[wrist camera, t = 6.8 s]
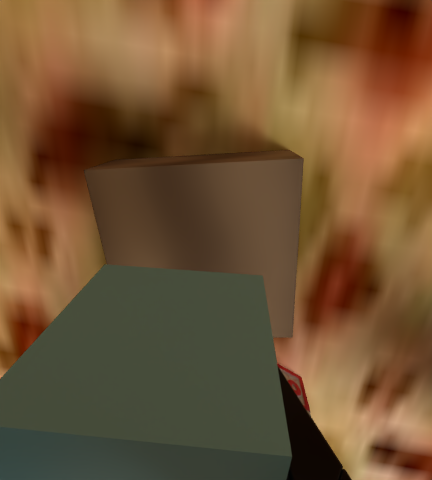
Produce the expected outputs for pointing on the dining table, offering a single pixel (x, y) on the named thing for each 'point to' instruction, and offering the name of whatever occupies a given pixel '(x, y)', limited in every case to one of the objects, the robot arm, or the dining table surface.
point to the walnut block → (206, 217)
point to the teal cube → (149, 384)
